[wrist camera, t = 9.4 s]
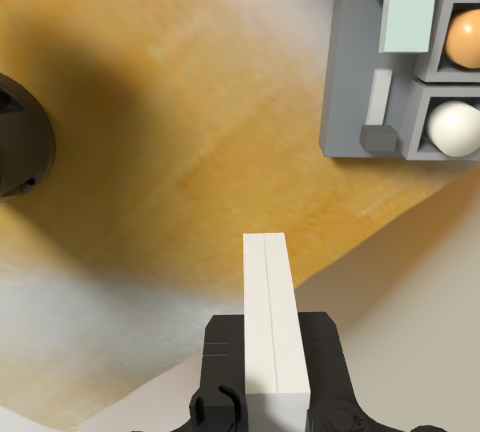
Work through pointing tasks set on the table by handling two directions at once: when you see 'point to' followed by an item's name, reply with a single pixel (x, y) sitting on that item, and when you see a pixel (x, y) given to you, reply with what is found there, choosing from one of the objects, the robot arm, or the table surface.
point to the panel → (389, 83)
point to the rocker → (406, 26)
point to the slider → (378, 137)
